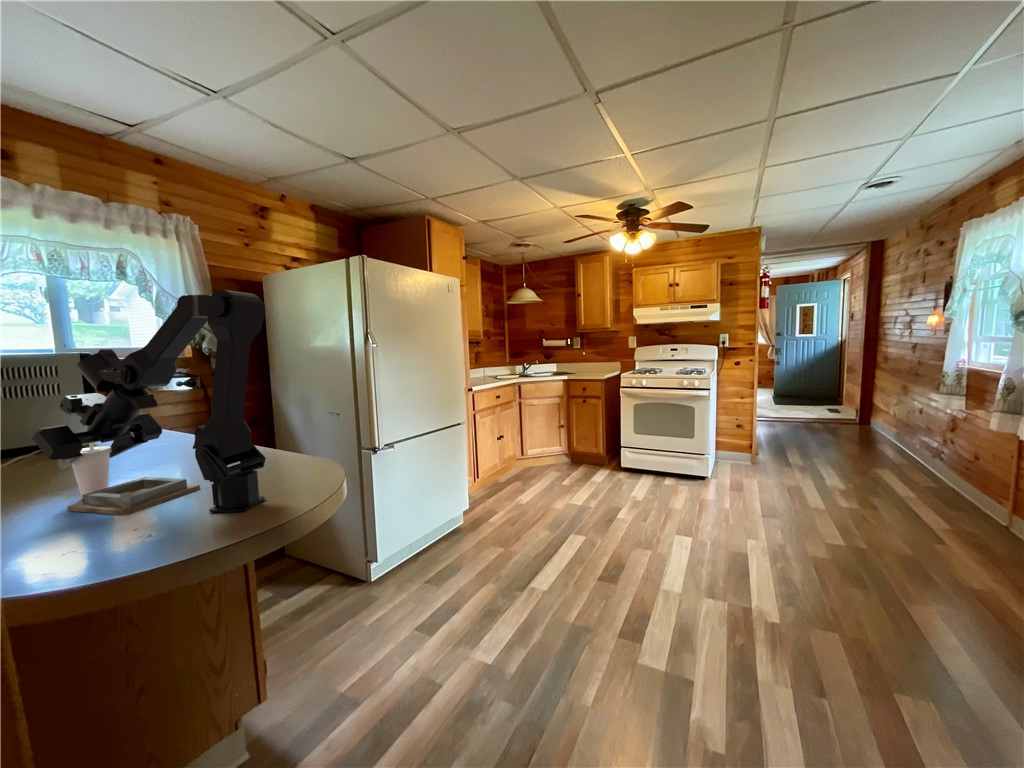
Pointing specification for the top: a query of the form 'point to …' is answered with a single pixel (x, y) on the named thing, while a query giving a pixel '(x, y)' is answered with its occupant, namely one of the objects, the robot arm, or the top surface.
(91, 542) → the top surface
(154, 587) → the top surface
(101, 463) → the smoothie
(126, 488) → the socket
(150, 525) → the top surface
